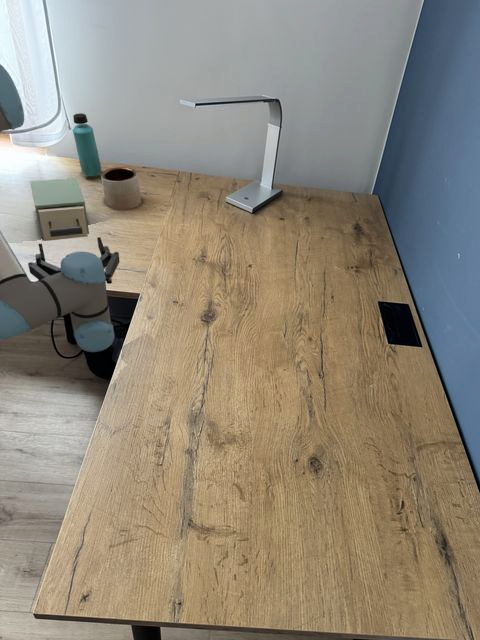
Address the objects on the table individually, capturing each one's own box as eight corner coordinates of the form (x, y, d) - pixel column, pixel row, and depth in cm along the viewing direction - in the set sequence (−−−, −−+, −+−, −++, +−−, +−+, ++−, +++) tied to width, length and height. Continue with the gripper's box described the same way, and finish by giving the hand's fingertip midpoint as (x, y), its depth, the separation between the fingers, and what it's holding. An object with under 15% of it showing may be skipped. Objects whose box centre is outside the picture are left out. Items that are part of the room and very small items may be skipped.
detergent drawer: (91, 248, 137) (87, 219, 131) (47, 253, 133) (41, 224, 127) (80, 213, 150) (76, 185, 144) (39, 217, 146) (33, 188, 140)
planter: (124, 192, 164) (120, 163, 158) (148, 202, 160) (145, 172, 153) (99, 204, 157) (92, 175, 151) (123, 215, 153) (118, 185, 146)
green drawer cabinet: (89, 236, 143) (84, 201, 136) (42, 241, 139) (34, 205, 132) (81, 211, 153) (76, 178, 146) (37, 215, 148) (29, 181, 141)
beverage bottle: (105, 178, 169) (93, 115, 156) (86, 182, 166) (72, 119, 153) (98, 171, 173) (86, 109, 160) (79, 175, 170) (65, 113, 157)
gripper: (26, 318, 108) (18, 264, 121) (142, 300, 117) (123, 252, 130) (18, 290, 103) (11, 237, 116) (140, 274, 111) (121, 226, 125)
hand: (70, 245), depth 123 cm, fingers open, 13 cm apart
